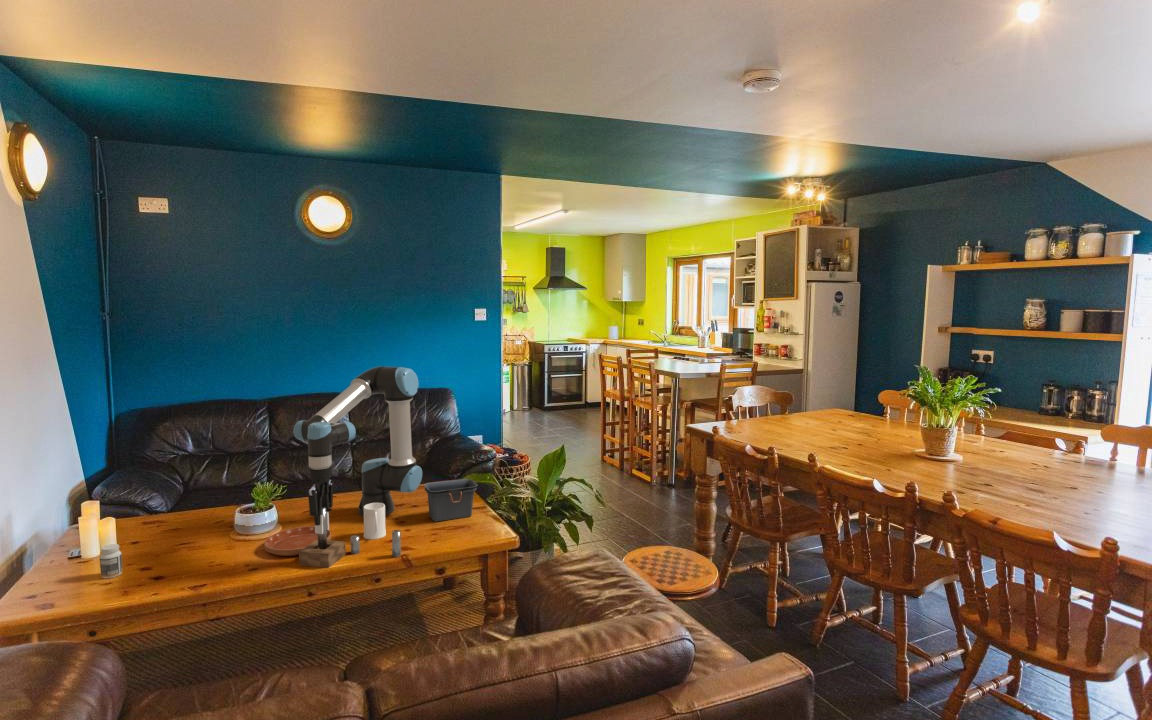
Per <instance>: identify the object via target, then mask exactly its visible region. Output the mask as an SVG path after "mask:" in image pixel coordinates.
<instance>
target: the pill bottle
mask: <svg viewBox="0 0 1152 720" xmlns="http://www.w3.org/2000/svg"><path fill="white" fill-rule="evenodd" d="M100 552H101V554H100V556H99V565H100V566H99V568H100V576H101V578H102V579H105V580H106V579H107V580H108V579H113V578H116V577H119V576H120V575H122V573H123V571H124V570H123V557H122V556H123V555H122V554H123V553H122V551H121V550H120V545H119V544H118V543H114V544H113V543H112V544H107V545H104V546H102V547H101V550H100Z"/></svg>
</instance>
